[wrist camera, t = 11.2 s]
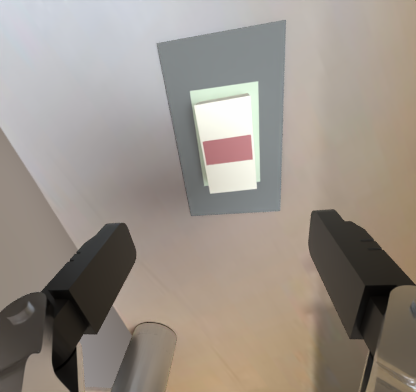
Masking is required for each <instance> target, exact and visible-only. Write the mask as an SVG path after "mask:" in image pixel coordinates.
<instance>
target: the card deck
mask: <svg viewBox="0 0 416 392" xmlns="http://www.w3.org/2000/svg"><path fill="white" fill-rule="evenodd" d="M194 109H195V114H196V120H197V125H198V131H199V136H200V141H201V147H202V152H203V158H204V163H205V168H206V174H207V179H208V185H209V190H210V194H213V193H222V192H232V191H241V190H251V189H257V182H256V168H255V154H254V140H253V125H252V111H251V97H250V95H249V94H248V93H245V94H240V95H234V96H228V97H223V98H217V99H212V100H206V101H201V102H198V103H197V104H195V105H194Z"/></svg>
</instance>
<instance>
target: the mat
mask: <svg viewBox="0 0 416 392" xmlns="http://www.w3.org/2000/svg"><path fill="white" fill-rule="evenodd" d="M285 32H286V20H282V21H277V22H271V23H266V24H260V25H255V26H249V27H244V28H238V29H233V30H227V31H222V32H216V33H211V34H205V35H200V36H194V37H189V38H184V39H178V40H173V41H167V42H162V43H157V47H158V52H159V57H160V62H161V67H162V72H163V77H164V82H165V87H166V92H167V97H168V102H169V107H170V112H171V117H172V122H173V127H174V132H175V137H176V142H177V147H178V152H179V157H180V162H181V167H182V172H183V178H184V183H185V188H186V193H187V198H188V203H189V208H190V213H191V216H200V215H218V214H236V213H253V212H271V211H280V198H281V165H282V132H283V99H284V65H285ZM245 93H248V94H249V95H250V97H251V111H252V125H253V140H254V154H255V168H256V182H257V189H251V190H241V191H232V192H222V193H213V194H210V190H209V185H208V179H207V174H206V168H205V163H204V158H203V152H202V147H201V141H200V136H199V131H198V125H197V120H196V114H195V109H194V105H195V104H197V103H198V102H201V101H206V100H212V99H217V98H223V97H228V96H234V95H240V94H245Z"/></svg>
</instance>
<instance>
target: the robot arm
mask: <svg viewBox="0 0 416 392" xmlns="http://www.w3.org/2000/svg"><path fill="white" fill-rule="evenodd" d="M308 245H309V251H310V255H311V258H312V260H313V262H314V264H315V266H316V268H317V270H318V272H319V275H320V277H321V279H322V281H323V283H324V285H325V287H326V290H327V292H328V294H329V296H330V298H331V300H332V302H333V304H334V307H335V309H336V311H337V313H338V315H339V317H340V319H341V322H342V324H343V326H344V328H345V330H346V332H347V334H348V336H349V339H364V341H365V343H366V345H367V346H368V348H369V352H368V354H367V359H366V363H365V367H364V371H363V375H362V380H361V384H360V388H359V392H416V285H415V284H414V283H413V282H412V280H411V279H410V278H409V277H408V276H407V275H406V274H405V273H404V272H403V271H402V270H401V268H400V267H399V266H398V265H397V264H396V263H395V262H394V261H393V260H392V259H391V258H390V256H389V255H388V254H387V253H386V252H385V251H384V250H382V249H381V247H380V246H379V245H378V243H377V242H376V241H374V239H373V238H372V237H371V236H370V235H369V234H368V233H367V231H366V230H365V229H363V228H362V227H360V226H358V225H356V224H355V223H353V222H351V221H346V222H345V221H344V220H343V219H342V218H341V216H340V215H339V214H338V213H337V212H336V211H335V210H334V209H331V210H316V211H312V213H311V220H310V230H309V240H308ZM135 260H136V249H135V246H134V243H133V241H132V238H131V235H130V233H129V230H128V227H127V225H126V224H125V223H112V224H106V225H105V226H104V227H103V228H102V229H101V230H100V231H99V232H98V233H97V235H96V236H94V237H93V238H91V239H90V240H89V241H87V242H86V243H84V245H83V246H82V247H81V248H80V249H79V250H78V251H77V254H75V255H74V256H73V257H72V258H71V259H70V262H67V263H66V264H65V266H64V267H63V268H62V269H61V270H60V271H59V272H58V273H57V274H56V276H55V277H54V278H53V279H52V280H51V281H50V282H49V283H48V285H47V286H46V287H45V288H44V289H43V290H42V291H41V292H34V293H30V294H27V295H25V296H22V297H21V298H19V299H17V300H15V301H13V302H12V303H10V304H9V305H8V306H7V307H5V308H4V309H3V310H2V311H1V312H0V392H85V385H84V370H83V357H82V346H81V343H80V342H79V341H80V339H81V337H82V336H83V334H97V333H98V331H99V329H100V327H101V326H102V324H103V322H104V320H105V318H106V316H107V314H108V312H109V310H110V308H111V307H112V305H113V303H114V301H115V299H116V297H117V295H118V293H119V291H120V289H121V288H122V286H123V284H124V282H125V280H126V278H127V276H128V274H129V272H130V270H131V269H132V267H133V265H134V263H135ZM175 345H176V335H175V333H174V332H173V331H172V330H171V329H169V328H168V327H165V326H163V325H160V324H156V323H143V324H140V325H138V326H137V327H136V328H135V330H134V333H133V335H132V338H131V341H130V343H129V346H128V348H127V351H126V353H125V356H124V358H123V361H122V363H121V366H120V368H119V371H118V374H117V376H116V379H115V381H114V384H113V387H112V389H111V392H165V391H166V386H167V382H168V377H169V372H170V368H171V363H172V359H173V354H174V349H175Z"/></svg>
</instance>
